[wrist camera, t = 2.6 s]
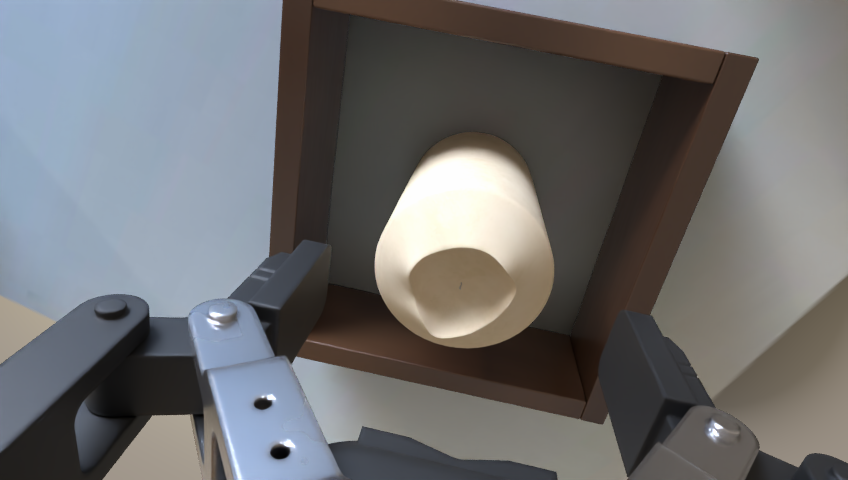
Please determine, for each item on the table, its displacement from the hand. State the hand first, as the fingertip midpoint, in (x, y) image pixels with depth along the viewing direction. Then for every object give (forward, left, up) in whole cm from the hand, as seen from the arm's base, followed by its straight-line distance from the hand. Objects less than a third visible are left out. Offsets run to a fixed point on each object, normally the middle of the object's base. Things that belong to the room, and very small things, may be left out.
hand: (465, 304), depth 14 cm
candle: (0, 0, -11) cm, 11 cm away
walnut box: (0, 0, -10) cm, 10 cm away
